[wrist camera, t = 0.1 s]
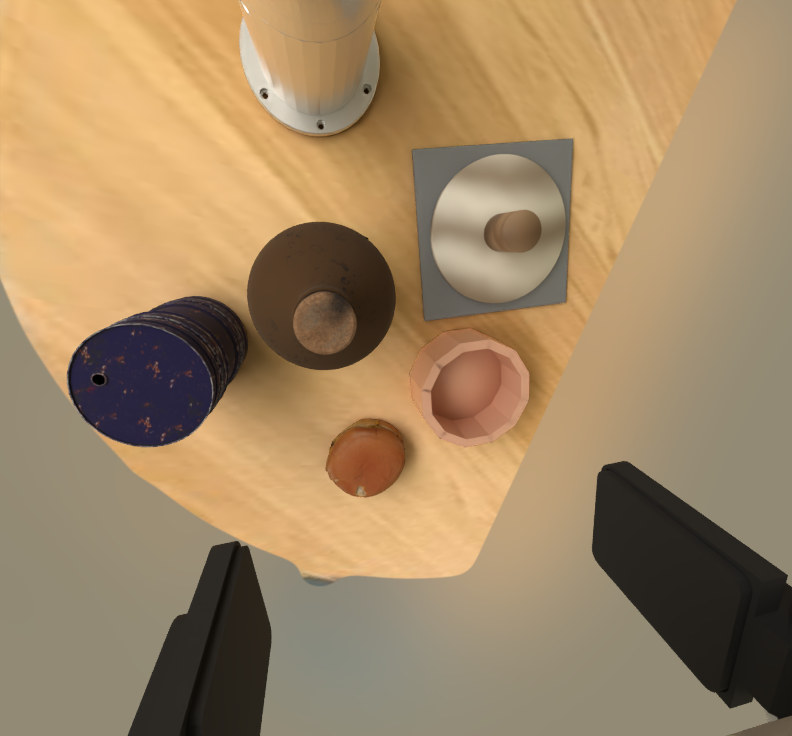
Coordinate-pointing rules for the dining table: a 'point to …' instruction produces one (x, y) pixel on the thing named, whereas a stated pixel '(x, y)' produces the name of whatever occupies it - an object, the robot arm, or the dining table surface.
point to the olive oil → (321, 295)
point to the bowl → (469, 387)
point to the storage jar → (157, 371)
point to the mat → (429, 182)
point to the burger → (366, 458)
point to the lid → (498, 228)
